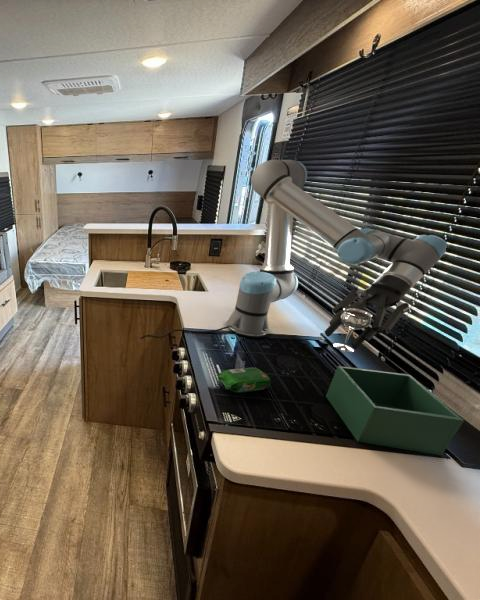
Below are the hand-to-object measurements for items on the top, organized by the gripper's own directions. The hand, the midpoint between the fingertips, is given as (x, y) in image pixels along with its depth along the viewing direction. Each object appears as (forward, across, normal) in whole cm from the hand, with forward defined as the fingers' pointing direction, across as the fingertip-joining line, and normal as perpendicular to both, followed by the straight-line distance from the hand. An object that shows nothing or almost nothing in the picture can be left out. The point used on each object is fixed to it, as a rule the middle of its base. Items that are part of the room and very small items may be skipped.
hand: (339, 340), depth 91 cm
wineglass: (0, 0, -5) cm, 5 cm away
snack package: (+30, +6, +9) cm, 32 cm away
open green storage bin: (+14, -17, -6) cm, 23 cm away
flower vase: (-27, +70, -49) cm, 89 cm away
